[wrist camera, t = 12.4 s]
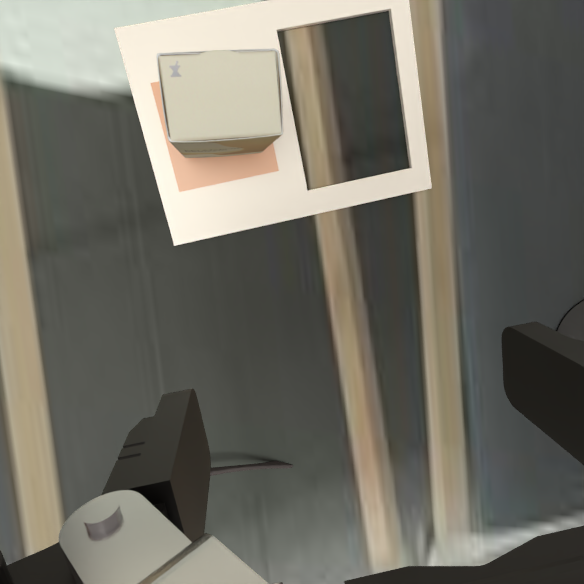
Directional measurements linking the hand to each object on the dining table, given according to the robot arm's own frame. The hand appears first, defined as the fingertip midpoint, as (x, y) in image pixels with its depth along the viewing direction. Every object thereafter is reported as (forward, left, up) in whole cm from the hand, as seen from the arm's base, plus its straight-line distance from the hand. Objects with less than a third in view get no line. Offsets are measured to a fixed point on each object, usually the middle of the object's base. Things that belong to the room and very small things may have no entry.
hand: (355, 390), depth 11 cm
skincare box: (+1, -10, -27) cm, 29 cm away
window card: (-4, -12, -27) cm, 30 cm away
